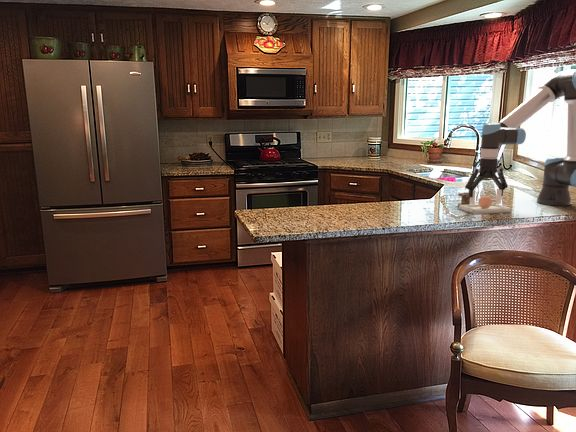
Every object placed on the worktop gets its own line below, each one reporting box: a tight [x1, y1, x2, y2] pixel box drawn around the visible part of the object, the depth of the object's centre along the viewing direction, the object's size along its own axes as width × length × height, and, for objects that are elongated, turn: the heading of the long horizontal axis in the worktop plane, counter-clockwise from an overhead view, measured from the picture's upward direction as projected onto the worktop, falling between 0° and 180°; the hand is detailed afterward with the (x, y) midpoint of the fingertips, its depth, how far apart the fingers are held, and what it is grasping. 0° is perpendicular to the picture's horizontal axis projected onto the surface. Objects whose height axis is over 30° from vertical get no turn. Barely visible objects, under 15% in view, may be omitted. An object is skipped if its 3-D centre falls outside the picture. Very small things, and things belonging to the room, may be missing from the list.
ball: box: [477, 195, 493, 209], centre depth 228 cm, size 6×6×6 cm
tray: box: [458, 202, 512, 215], centre depth 229 cm, size 19×12×2 cm, turn 101°
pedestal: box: [457, 192, 470, 207], centre depth 239 cm, size 7×7×6 cm
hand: (485, 203), depth 229 cm, fingers open, 13 cm apart
